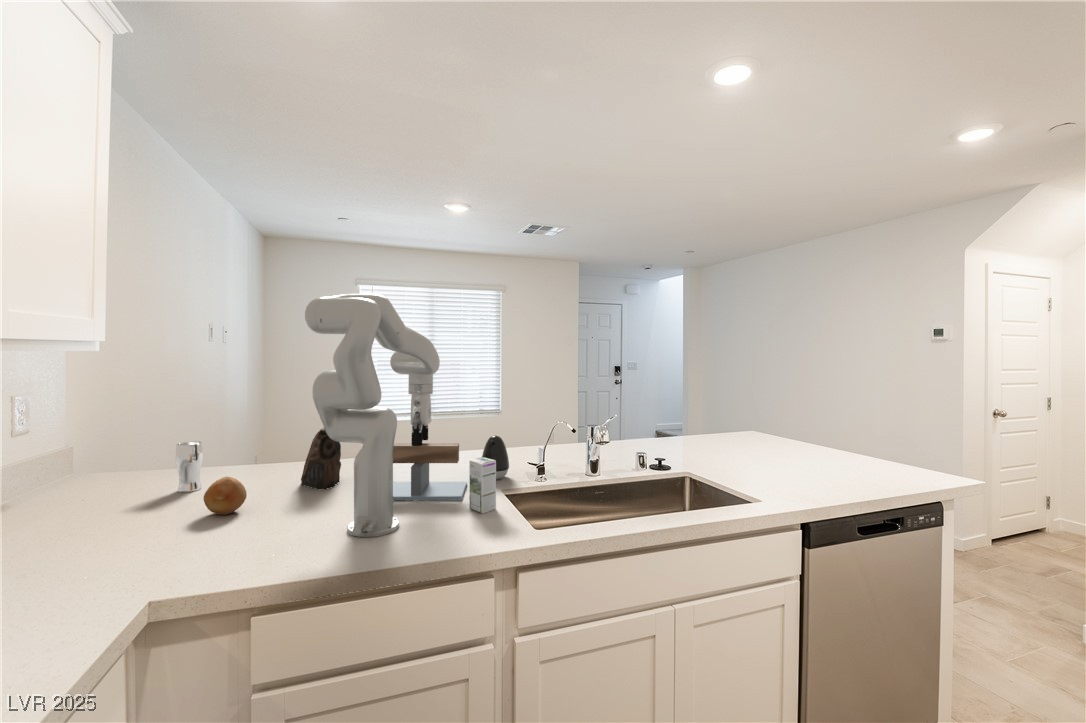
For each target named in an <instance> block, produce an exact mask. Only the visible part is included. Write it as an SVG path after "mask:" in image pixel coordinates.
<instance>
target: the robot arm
mask: <svg viewBox="0 0 1086 723" xmlns="http://www.w3.org/2000/svg"><path fill="white" fill-rule="evenodd" d="M304 320H305V322H306V325H307V327H308V328H309V329H310V330H311V331H313V332H314V333H316V334H320V335H344V337H343V338H342V340H341V341H340V342H339V344H338V346H337V347H336V349H335V351H334V354H333V356H332V360H333V361H332V362H333V366H334V370H325V371H323V372H320V373H319V374H318V375H317V376H316V377H315V379H314V382H313V385H312V399H313V403H314V406H315V408H316V411H317V415H319V419H320V421H321V423H322V426H323V428H325V431H326V433H327V435H328V436H329V437H330V438H331V439H332V440H334V441H337V442H339V443H350V444H351V443H355V444H362V447H361V449H360V450H359V451H358V453H357V454H356V455H355V458H354V461H353V520H352V521H351V522H350V523H349V524H348V525H347V526H346V527H347V528H346V529H347V533H348V534H349V535H351V536H354V537H359V538H374V537H379V536H384V535H388V534H390V533H392V532H395V531H396V530H397V529H398V528H399V526H400V520H399V519H398V518H397V517H396V516H395V517H394V501H393V482H394V463H393V447H394V443H395V437H396V433H397V429H398V428H397V427H398V419H397V414H396V413H395V412H394V411H393V410H392V409H390V408H389V407H386V406H380V405H379V404H380V403H381V400H382V389H381V385H380V381H379V378H378V374H377V371H376V368H375V365H374V361H373V356H372V350H373V344H374V341H375V340H376V341H377V343H378V344H379V345H380V346H381V347H382V348H385V349H387V350H389V351H391V352H393V354H391V357H390V360H389V361H390V368H391V369H392V370H393V372H395V373H396V374H399V375H408V395H411V396H410V397H411V400H410V424H411V443H412V446H422V443H423V441H428V440H429V425H430V423H431V422H432V396H431V395H433V392H434V390H433V389H434V388H433V386H434V385H433V384H434V375H435V374H436V373H437V371H439V368H440V363H441V362H440V355H439V353H438V351H437V349H436V348H435V346H434V344H433V342H432V341H431V340H430V339H428V338H427V337H426V336H425V335H423V334H421V333H419V332H417V331H415V330H414V329H412V328H410V327H409V326H406V325H405V323H404V321H403V320H402V319H401V317H400V315H399V313H398V312H397V311H396V308H395V307H394V306H393V304H392V303H391V301H390V300H389V299H388V297H386V296H384V295H382V294H379V293H378V294H377V293H346V294H344V293H343V294H338V295H332V296H321V297H317V298H314V299H312V300H311V301H310V302H308V304H307V306H306V307H305V310H304Z"/></svg>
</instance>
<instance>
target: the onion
mask: <svg viewBox="0 0 1086 723" xmlns="http://www.w3.org/2000/svg"><path fill="white" fill-rule="evenodd" d="M246 499H247V490H246V488H245V486H244V484H243V483H242V482H241V481H239V480H238V479H237V478H234V477H231V476H223V477H221V478H219V479H218V480H216V481H214V482H213V483H212V484H211V485H210V486H209V487H208V488H207V490H205V492H204V495H203V502H204V505H205V506H206V508H207V510H209V512H211V513H214V514H217V515H221V516H222V515H225V516H227V515H229V514H232V513H234V512H235V511H237V510H238V509H239V508H241V506H242V505H243V504H244V503H245V501H246Z"/></svg>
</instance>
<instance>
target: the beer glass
mask: <svg viewBox="0 0 1086 723" xmlns="http://www.w3.org/2000/svg"><path fill="white" fill-rule="evenodd" d="M203 456H204V455H203V442H202V441H199V440H198V441H197V440H193V441H184V442H179V443H178V442H177V443H176V448H175V463H176V468H177V473H178V477H179V479H178V480H179V482H178V486H177V487H178V488H177V492H179V493H193V492H196V490H197V491H199V489H200V490H201V489H202V484H201V479H200V478H201V475H200V474H201V470H202V465H203ZM192 491H193V492H192Z"/></svg>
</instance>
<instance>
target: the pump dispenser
mask: <svg viewBox="0 0 1086 723" xmlns="http://www.w3.org/2000/svg"><path fill="white" fill-rule="evenodd" d="M481 457H484V458H488V459H492V460H496V480H501V479H503V478H504V477H506V475H507V474H508V472H509V469H510V461H509V455H508V451H507V447H506V445H505V442H504V440H503V439H502V437H500V436H498V435H492V436H490V437H489V438H488V439H487V440H486V443H485V444H484V448H483V451H482V455H481Z"/></svg>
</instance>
